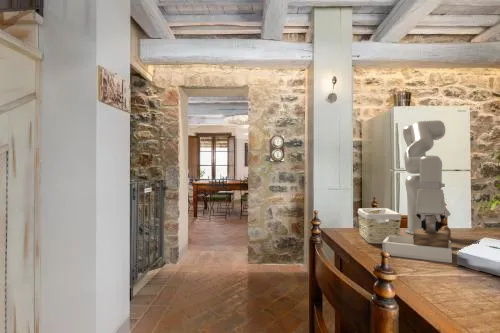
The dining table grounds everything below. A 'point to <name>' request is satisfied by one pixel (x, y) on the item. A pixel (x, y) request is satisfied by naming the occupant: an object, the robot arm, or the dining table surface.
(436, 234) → the tan block with peg
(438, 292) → the dining table surface
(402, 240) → the bay
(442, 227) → the lion figurine
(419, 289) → the dining table surface
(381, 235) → the storage basket
